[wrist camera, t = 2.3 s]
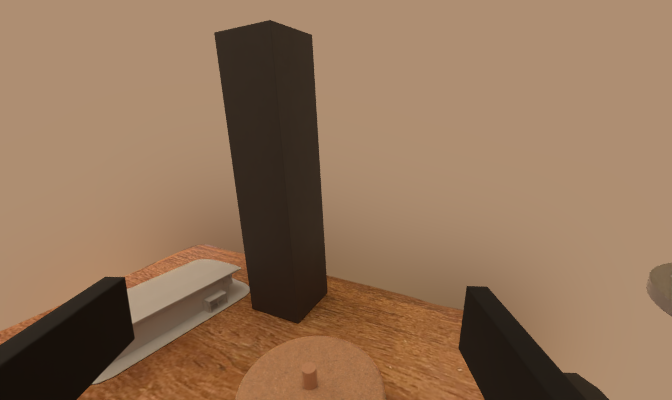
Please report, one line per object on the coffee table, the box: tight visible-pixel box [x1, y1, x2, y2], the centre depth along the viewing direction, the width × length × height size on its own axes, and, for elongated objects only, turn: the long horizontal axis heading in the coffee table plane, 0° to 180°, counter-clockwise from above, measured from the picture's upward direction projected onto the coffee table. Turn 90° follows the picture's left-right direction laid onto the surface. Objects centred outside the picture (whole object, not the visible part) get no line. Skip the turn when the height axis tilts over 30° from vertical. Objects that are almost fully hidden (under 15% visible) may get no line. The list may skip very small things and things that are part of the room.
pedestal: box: [215, 20, 327, 323], centre depth 41 cm, size 8×8×36 cm
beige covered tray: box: [92, 259, 250, 384], centre depth 45 cm, size 15×23×4 cm, turn 145°
